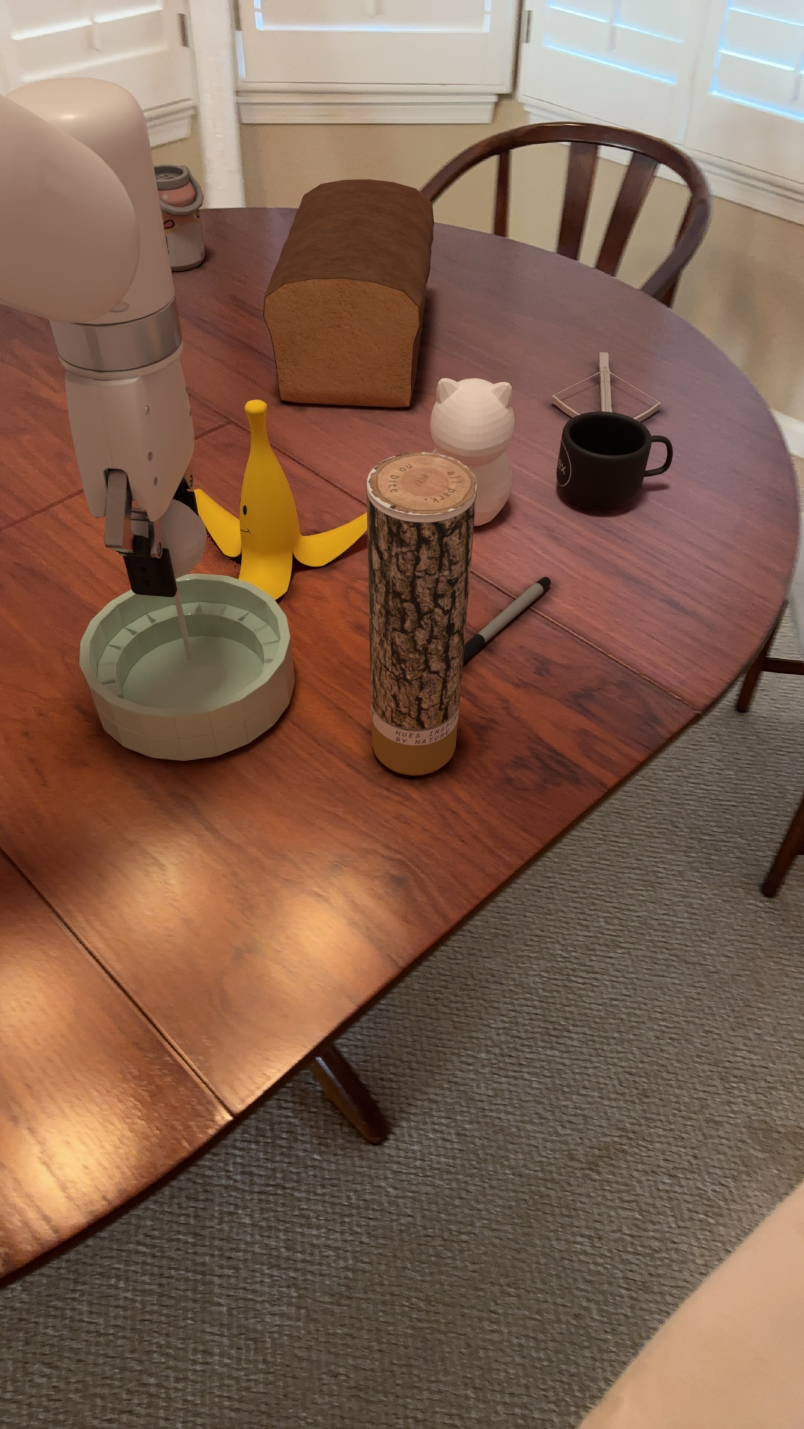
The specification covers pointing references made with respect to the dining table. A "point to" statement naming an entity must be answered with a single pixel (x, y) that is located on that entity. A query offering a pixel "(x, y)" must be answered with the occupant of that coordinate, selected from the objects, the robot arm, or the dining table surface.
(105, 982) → the dining table surface
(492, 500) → the cat figurine
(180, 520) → the lollipop
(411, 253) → the bread
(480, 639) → the pen
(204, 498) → the banana peel
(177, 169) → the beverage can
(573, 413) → the crossbow
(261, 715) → the bowl
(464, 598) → the paper tube
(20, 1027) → the dining table surface
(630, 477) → the mug
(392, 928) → the dining table surface
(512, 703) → the dining table surface
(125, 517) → the robot arm
